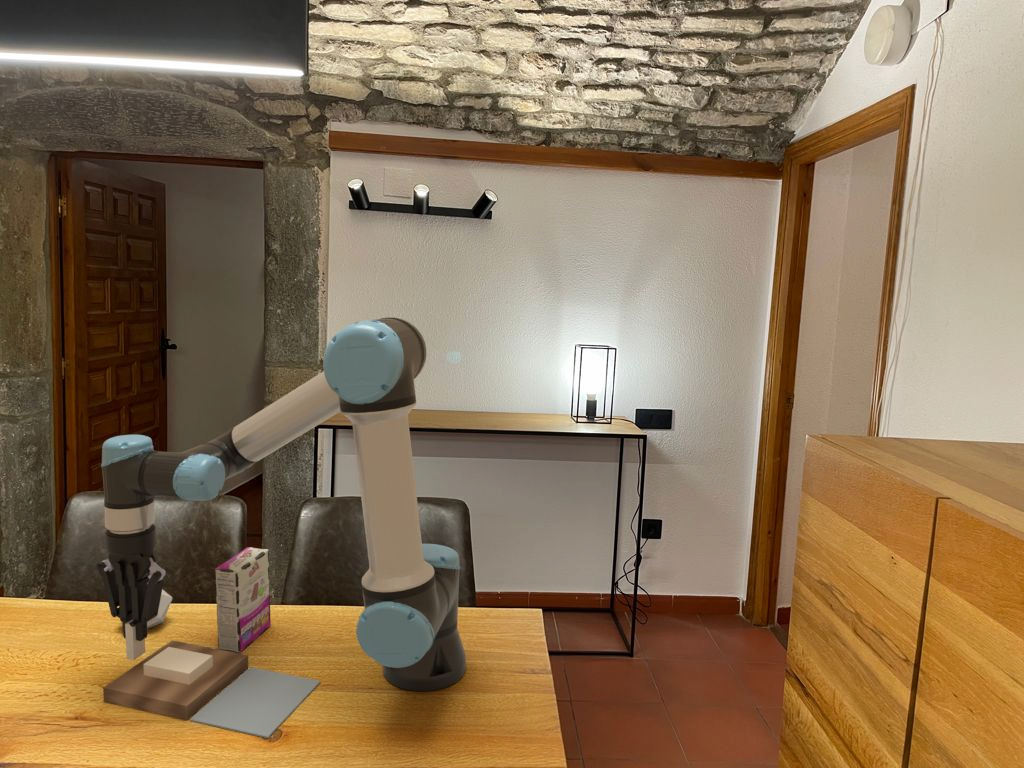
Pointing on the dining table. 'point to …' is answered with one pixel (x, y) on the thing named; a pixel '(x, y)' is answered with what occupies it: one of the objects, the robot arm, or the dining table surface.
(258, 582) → the candy bar box
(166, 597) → the die
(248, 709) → the mat
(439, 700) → the dining table surface
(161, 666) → the cream rectangular tile
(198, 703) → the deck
